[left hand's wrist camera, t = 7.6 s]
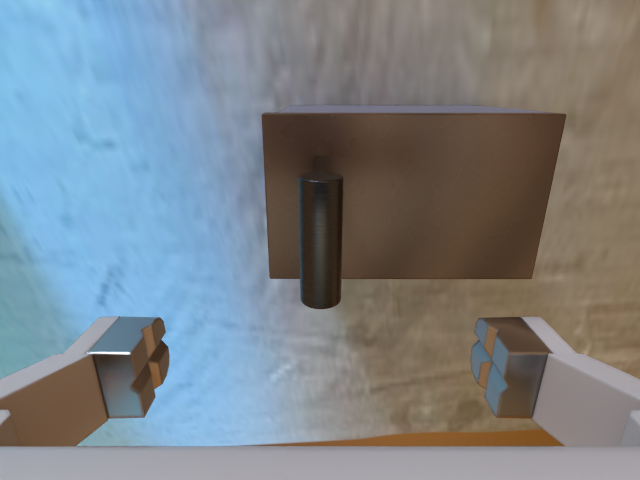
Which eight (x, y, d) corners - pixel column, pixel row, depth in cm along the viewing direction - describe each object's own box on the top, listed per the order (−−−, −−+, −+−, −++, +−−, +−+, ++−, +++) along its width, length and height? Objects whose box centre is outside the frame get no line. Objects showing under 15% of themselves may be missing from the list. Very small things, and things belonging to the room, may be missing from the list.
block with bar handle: (271, 270, 26) (250, 349, 18) (264, 112, 22) (233, 124, 15) (522, 271, 26) (610, 350, 18) (554, 112, 22) (680, 125, 14)
